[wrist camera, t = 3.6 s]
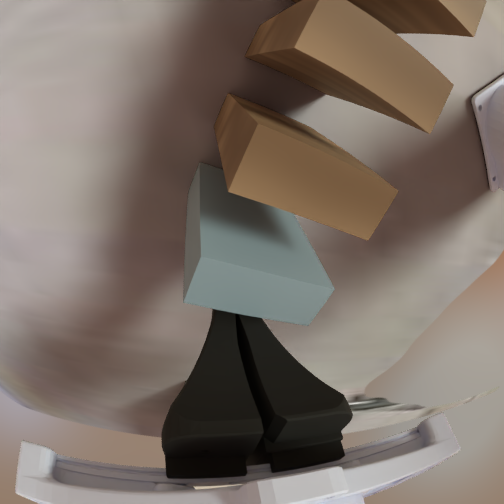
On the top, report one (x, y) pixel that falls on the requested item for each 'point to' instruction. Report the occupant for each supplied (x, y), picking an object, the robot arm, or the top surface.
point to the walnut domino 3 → (298, 169)
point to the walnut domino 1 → (425, 15)
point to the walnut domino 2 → (352, 60)
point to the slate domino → (248, 256)
